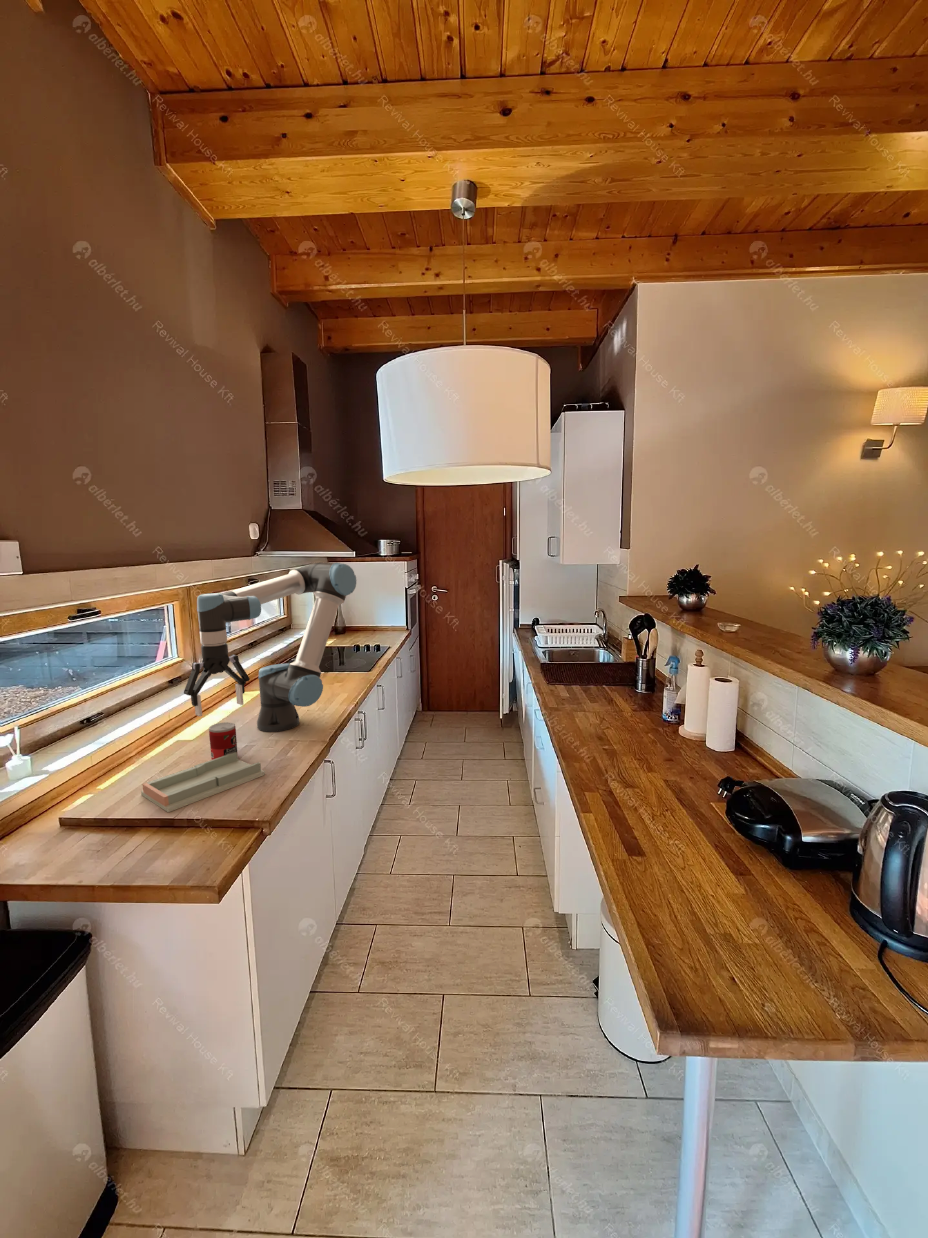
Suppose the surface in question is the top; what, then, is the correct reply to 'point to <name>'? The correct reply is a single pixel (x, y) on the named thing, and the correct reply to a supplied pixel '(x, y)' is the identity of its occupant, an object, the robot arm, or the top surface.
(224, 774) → the grey miter box
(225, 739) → the canned food
